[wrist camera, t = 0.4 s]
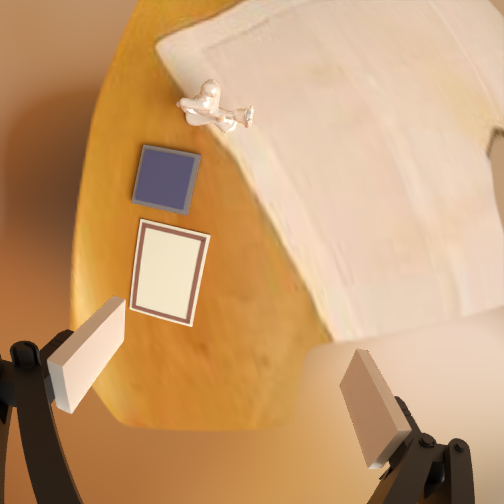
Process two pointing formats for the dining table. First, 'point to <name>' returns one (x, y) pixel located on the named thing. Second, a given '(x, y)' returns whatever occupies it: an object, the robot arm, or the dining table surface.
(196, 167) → the ink pad
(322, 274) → the dining table surface
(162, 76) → the dining table surface
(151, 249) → the print sheet
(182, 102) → the figurine
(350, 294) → the dining table surface
